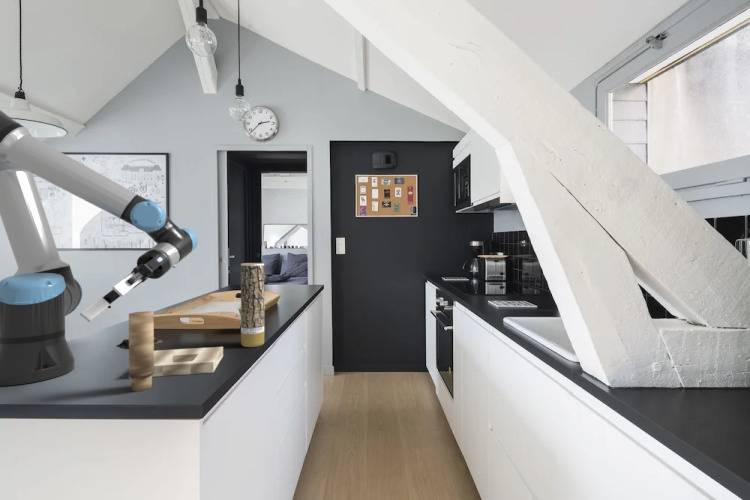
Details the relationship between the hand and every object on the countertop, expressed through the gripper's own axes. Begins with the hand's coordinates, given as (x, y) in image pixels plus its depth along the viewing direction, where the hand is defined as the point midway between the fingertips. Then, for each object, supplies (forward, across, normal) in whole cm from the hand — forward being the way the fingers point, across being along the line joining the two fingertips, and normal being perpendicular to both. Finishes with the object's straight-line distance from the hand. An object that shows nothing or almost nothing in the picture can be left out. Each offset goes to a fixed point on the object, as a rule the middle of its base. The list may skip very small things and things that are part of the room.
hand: (100, 304), depth 86 cm
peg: (+12, -5, -18) cm, 22 cm away
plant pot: (-36, +8, -38) cm, 53 cm away
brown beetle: (-18, +26, -16) cm, 36 cm away
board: (-1, 0, -23) cm, 23 cm away
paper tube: (-21, -3, -36) cm, 42 cm away
